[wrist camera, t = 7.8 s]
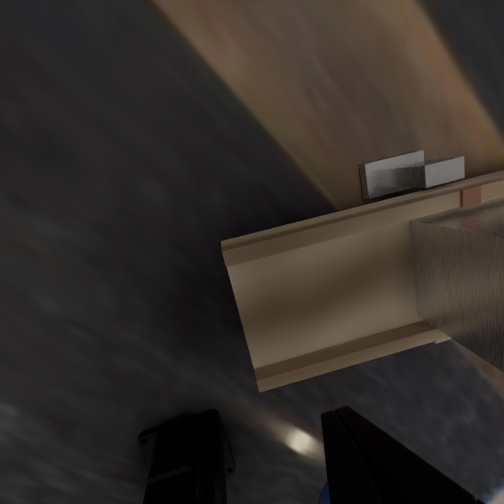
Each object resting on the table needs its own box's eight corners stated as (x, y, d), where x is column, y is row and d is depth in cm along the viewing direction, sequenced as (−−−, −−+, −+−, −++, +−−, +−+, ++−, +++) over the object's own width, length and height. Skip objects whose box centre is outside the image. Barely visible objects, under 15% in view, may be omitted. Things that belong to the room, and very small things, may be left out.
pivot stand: (425, 305, 24) (481, 336, 19) (377, 320, 23) (422, 355, 18) (415, 151, 20) (479, 140, 15) (358, 165, 20) (407, 158, 15)
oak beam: (592, 261, 21) (666, 276, 17) (252, 357, 19) (260, 395, 15) (605, 140, 18) (692, 131, 15) (220, 237, 17) (221, 251, 13)
